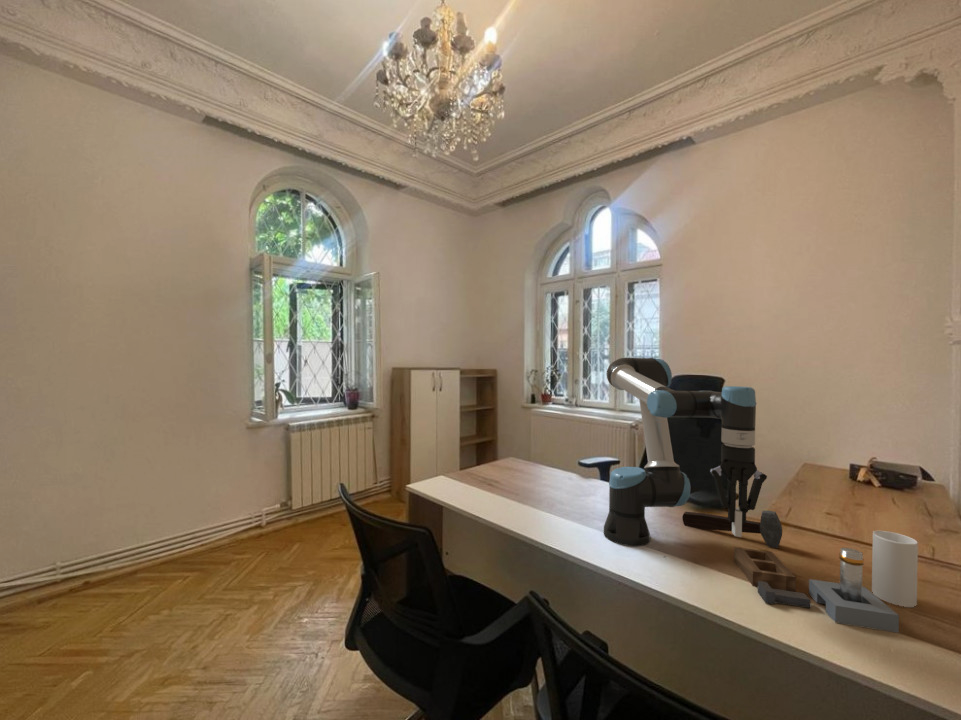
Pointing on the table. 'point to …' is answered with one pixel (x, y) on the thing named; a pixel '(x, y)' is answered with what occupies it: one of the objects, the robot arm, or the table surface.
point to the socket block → (854, 607)
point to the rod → (851, 574)
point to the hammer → (766, 527)
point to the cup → (894, 568)
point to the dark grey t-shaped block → (782, 596)
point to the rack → (764, 569)
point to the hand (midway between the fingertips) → (736, 534)
